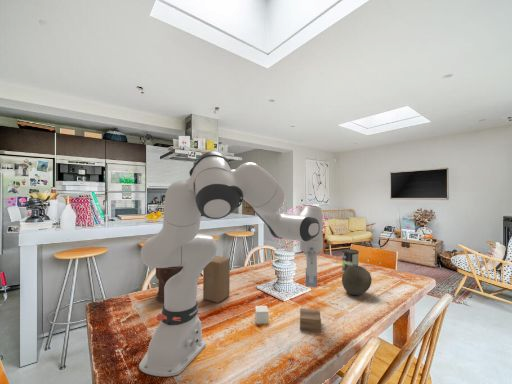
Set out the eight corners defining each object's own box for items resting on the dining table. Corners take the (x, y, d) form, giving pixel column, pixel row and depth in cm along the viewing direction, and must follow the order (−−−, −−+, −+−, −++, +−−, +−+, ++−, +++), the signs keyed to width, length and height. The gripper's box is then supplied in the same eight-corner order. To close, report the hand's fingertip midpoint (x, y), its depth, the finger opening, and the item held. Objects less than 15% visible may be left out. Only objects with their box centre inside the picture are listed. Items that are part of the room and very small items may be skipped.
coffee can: (344, 273, 159) (344, 252, 159) (340, 268, 169) (341, 248, 169) (360, 274, 158) (360, 253, 157) (356, 269, 168) (356, 249, 168)
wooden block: (202, 299, 120) (202, 259, 120) (214, 291, 129) (214, 254, 129) (218, 304, 116) (218, 262, 116) (230, 295, 125) (230, 257, 124)
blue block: (316, 287, 95) (317, 272, 95) (305, 286, 96) (305, 271, 96) (316, 283, 99) (316, 268, 99) (305, 282, 100) (305, 267, 100)
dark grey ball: (352, 301, 119) (352, 271, 119) (336, 289, 133) (337, 262, 133) (376, 299, 122) (377, 269, 122) (359, 287, 136) (359, 261, 136)
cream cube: (268, 323, 100) (268, 311, 100) (256, 323, 99) (256, 311, 99) (266, 317, 105) (266, 305, 105) (255, 317, 104) (255, 305, 104)
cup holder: (199, 290, 131) (199, 244, 131) (175, 312, 108) (175, 256, 108) (169, 286, 136) (169, 242, 135) (139, 307, 112) (139, 253, 112)
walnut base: (320, 333, 94) (320, 320, 93) (299, 330, 95) (300, 318, 95) (319, 321, 101) (319, 310, 101) (300, 319, 103) (300, 308, 103)
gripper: (321, 252, 86) (320, 290, 87) (318, 240, 106) (317, 271, 107) (303, 251, 88) (302, 289, 88) (303, 239, 108) (303, 270, 108)
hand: (311, 279), depth 97 cm, fingers closed on blue block, 4 cm apart
